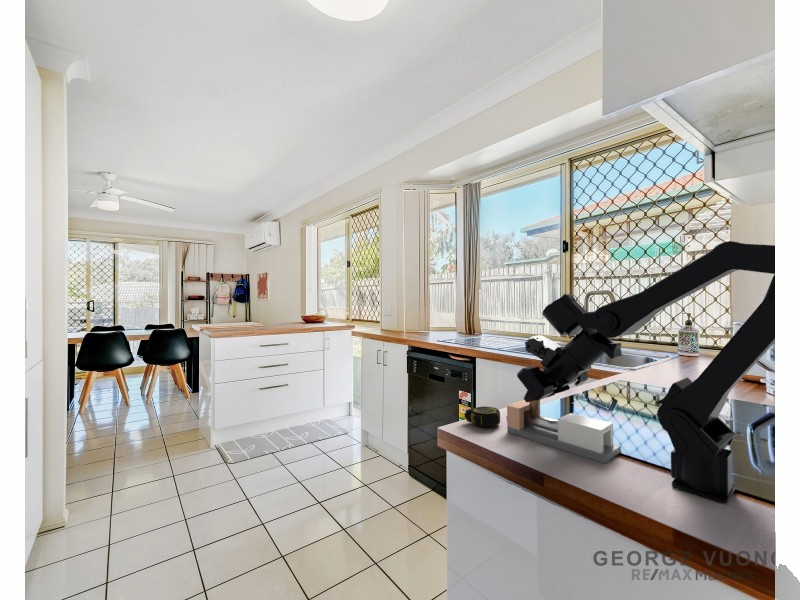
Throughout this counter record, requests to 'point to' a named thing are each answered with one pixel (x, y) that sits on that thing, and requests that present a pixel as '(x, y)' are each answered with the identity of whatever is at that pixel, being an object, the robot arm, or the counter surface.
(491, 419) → the tape measure
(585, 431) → the tube rig
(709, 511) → the counter surface
